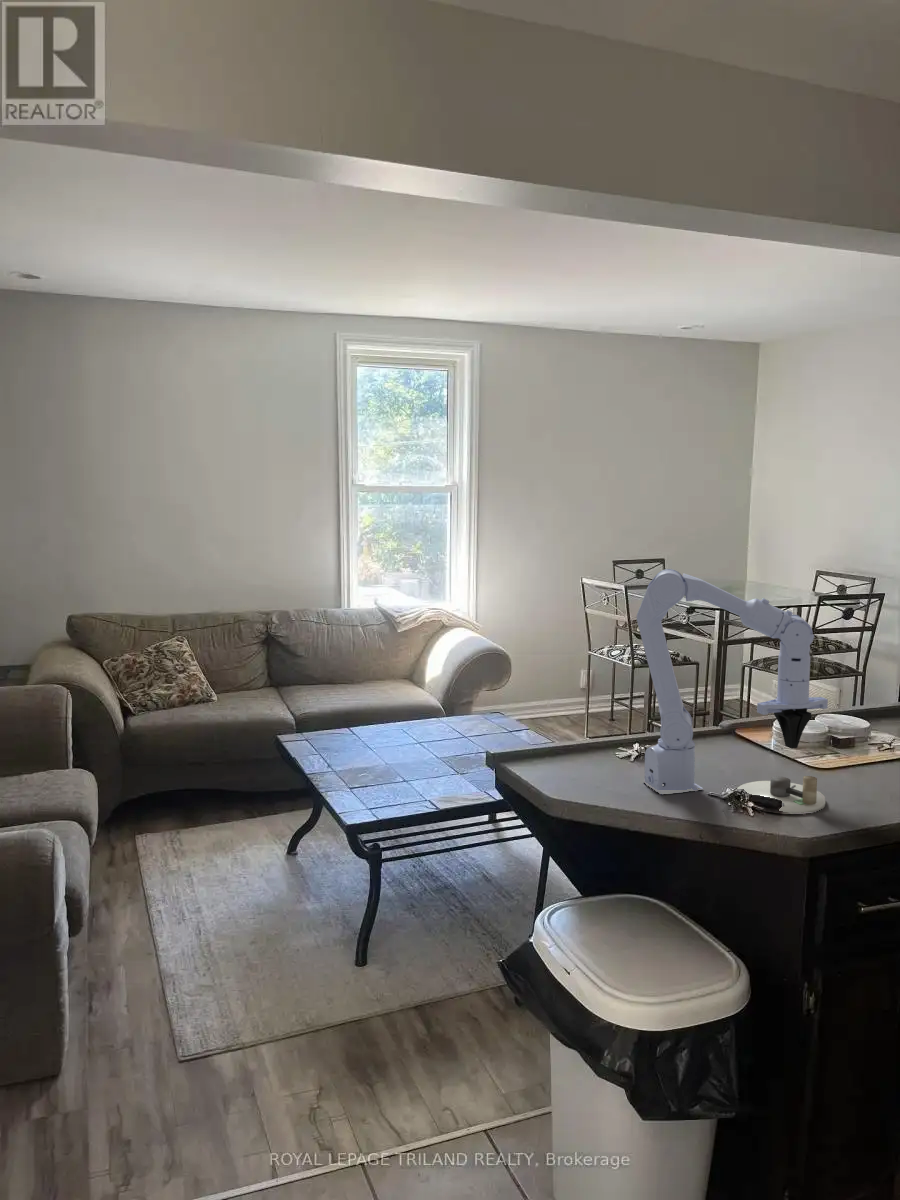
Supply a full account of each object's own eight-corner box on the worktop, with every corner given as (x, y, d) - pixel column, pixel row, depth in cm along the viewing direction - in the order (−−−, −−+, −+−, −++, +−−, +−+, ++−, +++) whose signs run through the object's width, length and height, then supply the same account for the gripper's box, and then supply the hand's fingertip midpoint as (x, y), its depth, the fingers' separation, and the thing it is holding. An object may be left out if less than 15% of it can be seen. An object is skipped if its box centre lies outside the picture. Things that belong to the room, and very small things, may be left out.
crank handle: (766, 792, 166) (766, 768, 166) (778, 789, 168) (779, 764, 167) (808, 807, 158) (809, 781, 157) (821, 803, 160) (822, 778, 159)
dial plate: (768, 819, 156) (768, 812, 156) (720, 790, 172) (720, 784, 171) (844, 809, 160) (844, 803, 160) (790, 782, 175) (790, 776, 175)
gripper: (811, 672, 172) (809, 738, 174) (748, 677, 168) (746, 744, 170) (836, 679, 165) (833, 747, 167) (770, 684, 161) (768, 754, 163)
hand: (791, 746), depth 168 cm, fingers closed
